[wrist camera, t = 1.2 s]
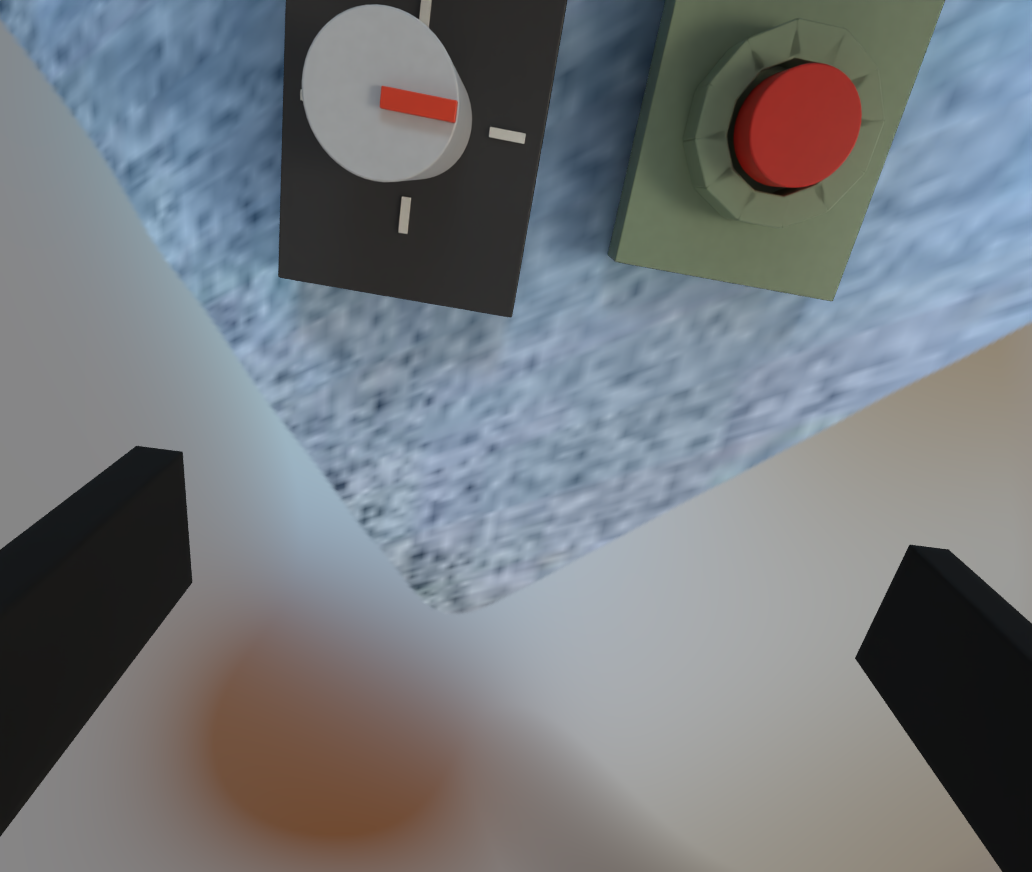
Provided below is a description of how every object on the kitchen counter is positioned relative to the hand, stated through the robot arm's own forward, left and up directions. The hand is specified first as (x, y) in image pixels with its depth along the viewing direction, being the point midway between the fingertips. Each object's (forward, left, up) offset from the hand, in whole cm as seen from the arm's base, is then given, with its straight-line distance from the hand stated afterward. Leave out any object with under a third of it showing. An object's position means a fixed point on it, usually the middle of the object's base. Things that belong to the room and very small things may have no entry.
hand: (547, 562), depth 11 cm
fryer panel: (-8, -6, -20) cm, 22 cm away
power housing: (-10, +8, -20) cm, 24 cm away
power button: (-10, +8, -17) cm, 21 cm away
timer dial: (-8, -6, -17) cm, 20 cm away
